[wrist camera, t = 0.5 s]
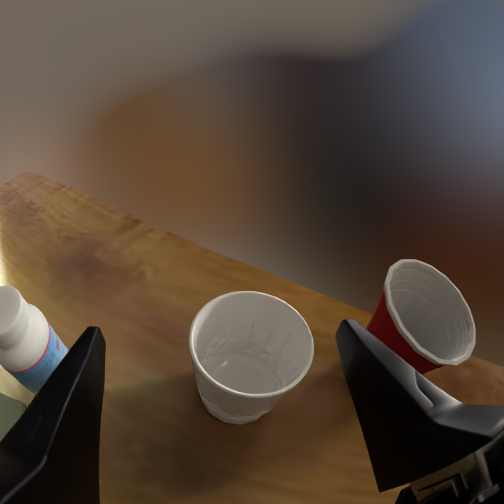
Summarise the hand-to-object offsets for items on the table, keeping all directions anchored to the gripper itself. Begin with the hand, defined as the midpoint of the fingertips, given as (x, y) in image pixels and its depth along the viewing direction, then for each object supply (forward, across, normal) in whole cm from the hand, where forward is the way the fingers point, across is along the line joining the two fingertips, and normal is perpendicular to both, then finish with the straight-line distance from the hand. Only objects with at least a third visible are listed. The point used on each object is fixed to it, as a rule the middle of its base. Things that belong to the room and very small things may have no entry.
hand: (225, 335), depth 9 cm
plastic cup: (+5, -18, +16) cm, 24 cm away
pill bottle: (+6, +15, +16) cm, 23 cm away
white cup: (+5, -3, +16) cm, 17 cm away
